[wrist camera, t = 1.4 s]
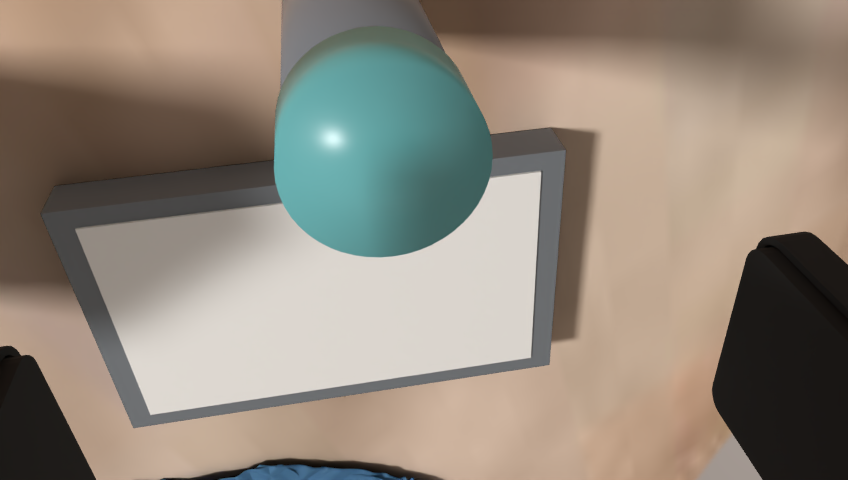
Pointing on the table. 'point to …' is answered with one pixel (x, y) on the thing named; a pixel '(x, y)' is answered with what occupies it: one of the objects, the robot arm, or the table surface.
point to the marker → (374, 128)
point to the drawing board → (302, 288)
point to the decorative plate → (310, 474)
